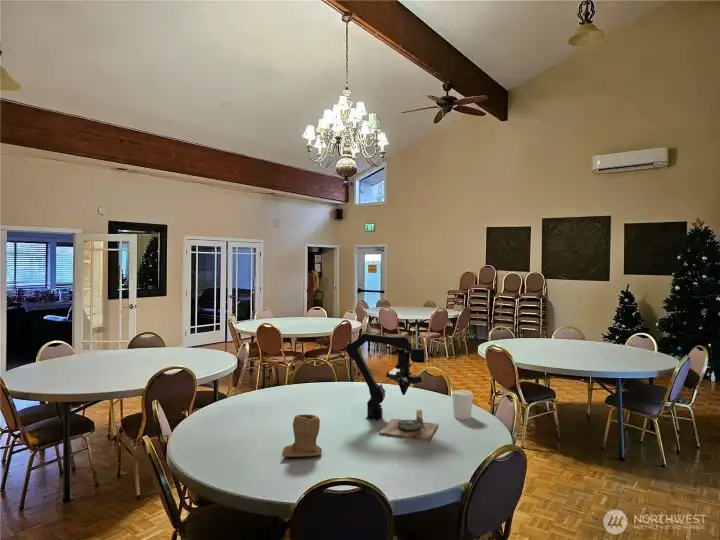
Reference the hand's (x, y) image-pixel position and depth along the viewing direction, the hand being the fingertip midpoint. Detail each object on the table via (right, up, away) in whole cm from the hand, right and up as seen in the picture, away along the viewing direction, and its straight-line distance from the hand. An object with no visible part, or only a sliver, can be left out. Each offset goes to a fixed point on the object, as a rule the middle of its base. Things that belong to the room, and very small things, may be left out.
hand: (403, 394), depth 221 cm
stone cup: (-43, -12, -41) cm, 61 cm away
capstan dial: (+3, -11, -13) cm, 17 cm away
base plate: (+1, -12, -14) cm, 19 cm away
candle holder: (+29, -12, +4) cm, 32 cm away
